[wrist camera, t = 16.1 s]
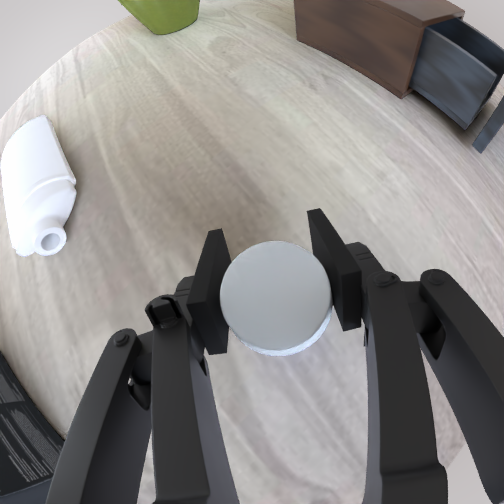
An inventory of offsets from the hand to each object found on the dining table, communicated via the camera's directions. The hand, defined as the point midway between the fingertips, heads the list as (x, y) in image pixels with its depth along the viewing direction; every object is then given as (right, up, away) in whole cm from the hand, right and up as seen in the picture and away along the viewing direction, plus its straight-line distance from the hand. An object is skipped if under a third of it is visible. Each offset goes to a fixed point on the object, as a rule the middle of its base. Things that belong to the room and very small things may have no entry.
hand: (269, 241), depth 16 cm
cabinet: (+14, +23, +8) cm, 28 cm away
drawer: (+22, +14, +4) cm, 26 cm away
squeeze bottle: (-24, +6, +9) cm, 27 cm away
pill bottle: (+1, -5, +2) cm, 5 cm away
